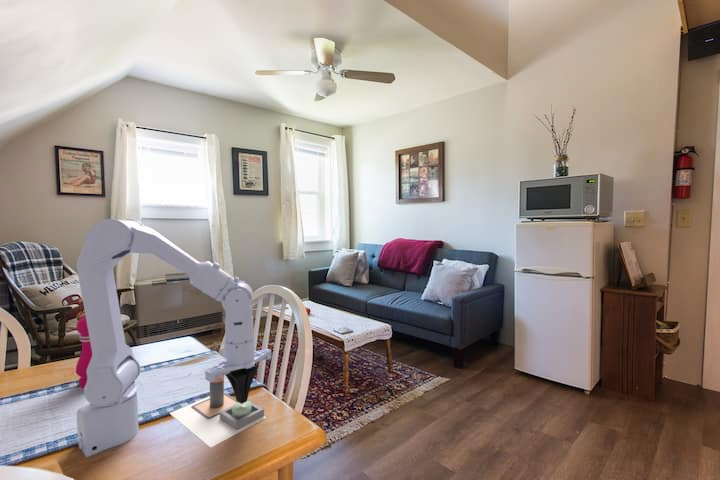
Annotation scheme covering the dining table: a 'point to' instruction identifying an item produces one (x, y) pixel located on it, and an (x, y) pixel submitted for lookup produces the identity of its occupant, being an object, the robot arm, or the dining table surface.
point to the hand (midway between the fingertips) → (241, 401)
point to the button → (241, 409)
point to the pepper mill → (83, 352)
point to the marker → (217, 392)
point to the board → (216, 419)
